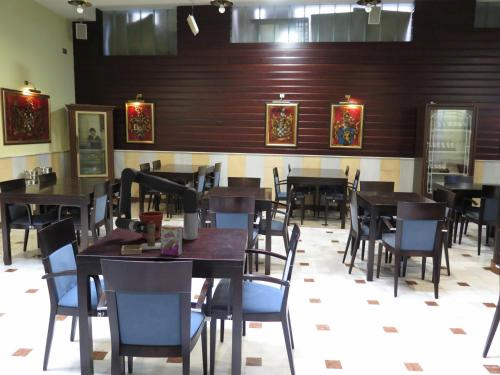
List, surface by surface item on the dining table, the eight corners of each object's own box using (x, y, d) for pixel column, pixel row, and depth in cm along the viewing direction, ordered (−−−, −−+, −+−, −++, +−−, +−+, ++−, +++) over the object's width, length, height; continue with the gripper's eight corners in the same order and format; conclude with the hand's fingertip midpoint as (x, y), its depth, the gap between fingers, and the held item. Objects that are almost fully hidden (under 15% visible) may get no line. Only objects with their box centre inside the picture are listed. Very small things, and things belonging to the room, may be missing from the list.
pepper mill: (147, 244, 258) (147, 220, 256) (155, 244, 259) (155, 220, 257) (147, 246, 253) (147, 222, 251) (155, 246, 254) (155, 221, 253)
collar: (122, 249, 248) (122, 245, 248) (141, 248, 250) (141, 244, 250) (121, 254, 237) (121, 250, 237) (141, 253, 240) (141, 249, 240)
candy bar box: (160, 254, 239) (160, 226, 237) (164, 252, 244) (164, 224, 242) (178, 256, 236) (178, 227, 234) (182, 254, 241) (182, 225, 239)
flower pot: (134, 236, 279) (134, 213, 277) (157, 233, 290) (156, 210, 288) (145, 241, 267) (145, 216, 265) (168, 238, 277) (168, 214, 275)
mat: (141, 244, 261) (141, 243, 260) (161, 243, 263) (161, 242, 263) (141, 249, 249) (141, 248, 249) (161, 248, 252) (161, 247, 252)
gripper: (127, 222, 259) (142, 226, 248) (147, 219, 269) (162, 223, 258) (127, 234, 260) (143, 238, 249) (147, 230, 270) (162, 235, 259)
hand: (153, 230), depth 254 cm, fingers open, 8 cm apart
